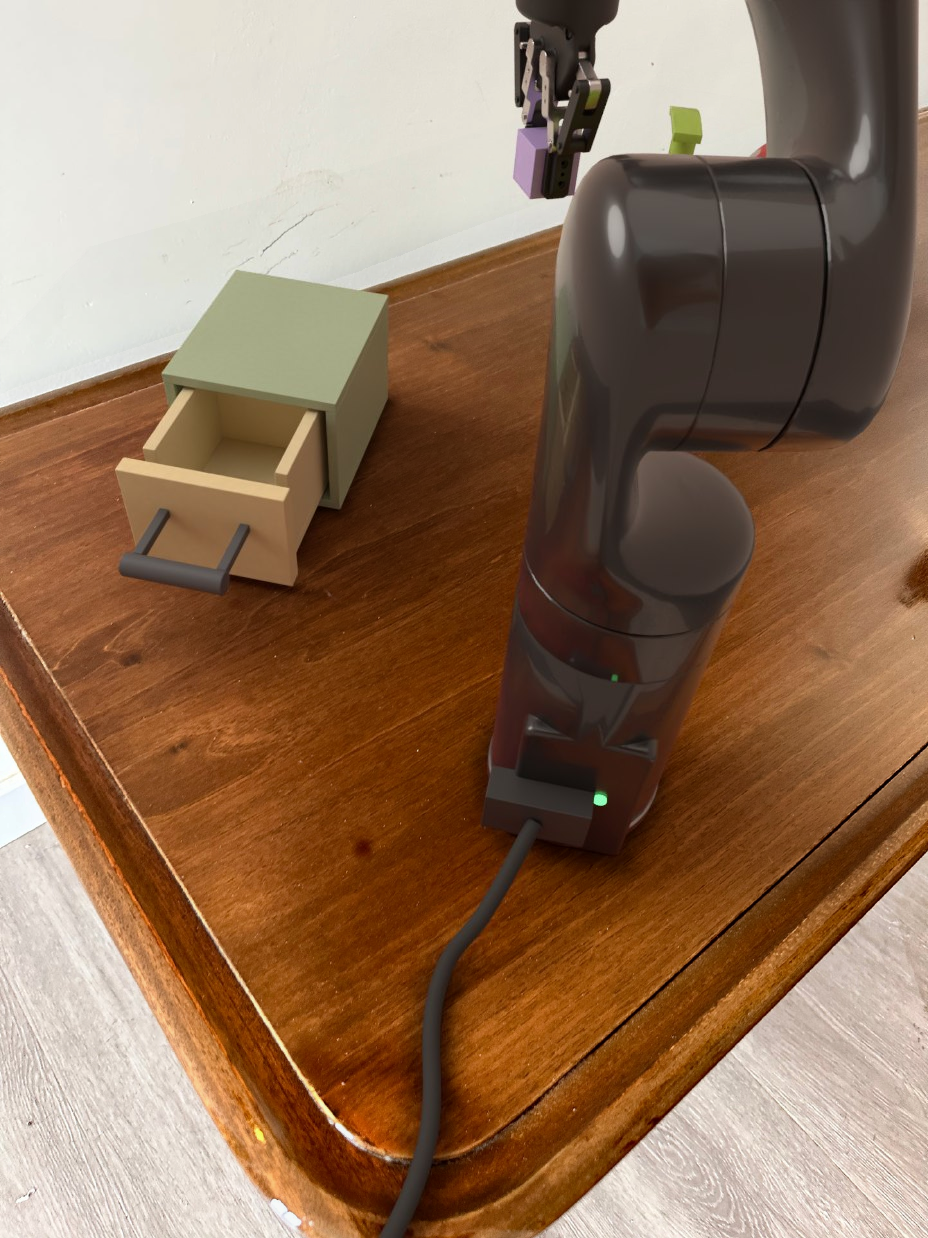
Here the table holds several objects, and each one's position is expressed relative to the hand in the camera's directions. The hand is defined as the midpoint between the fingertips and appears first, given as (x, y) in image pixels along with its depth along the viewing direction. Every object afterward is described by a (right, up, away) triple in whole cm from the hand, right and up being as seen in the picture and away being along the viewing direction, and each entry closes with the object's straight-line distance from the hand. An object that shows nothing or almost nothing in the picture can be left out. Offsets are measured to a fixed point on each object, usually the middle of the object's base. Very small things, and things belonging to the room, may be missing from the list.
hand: (543, 183), depth 79 cm
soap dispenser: (+7, -16, 0) cm, 17 cm away
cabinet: (-20, -23, -8) cm, 31 cm away
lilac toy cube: (0, 0, 0) cm, 0 cm away
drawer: (-22, -31, -17) cm, 41 cm away
